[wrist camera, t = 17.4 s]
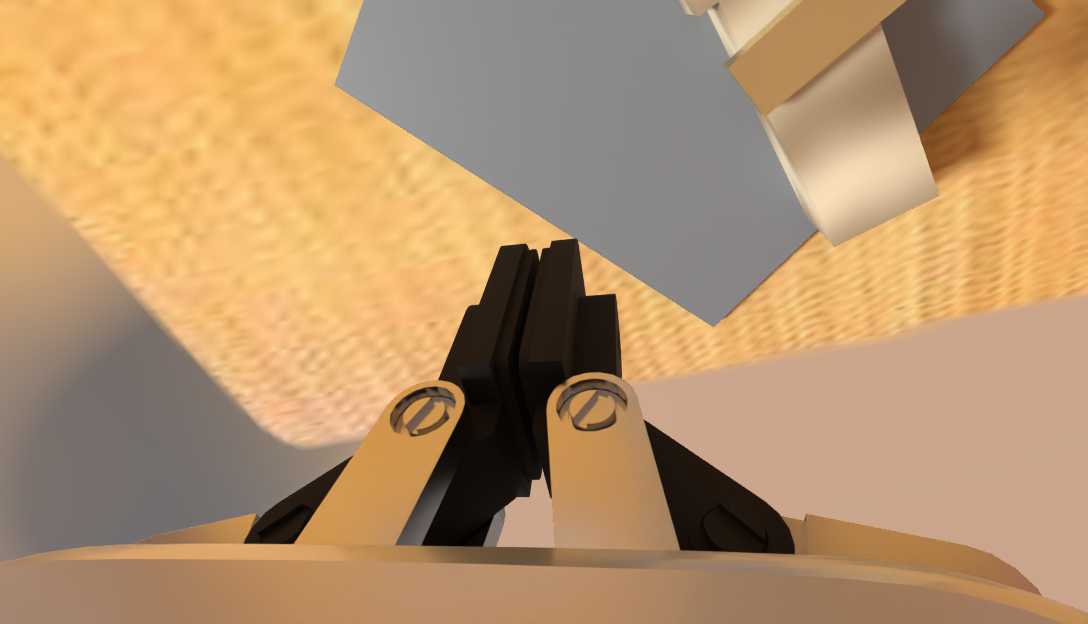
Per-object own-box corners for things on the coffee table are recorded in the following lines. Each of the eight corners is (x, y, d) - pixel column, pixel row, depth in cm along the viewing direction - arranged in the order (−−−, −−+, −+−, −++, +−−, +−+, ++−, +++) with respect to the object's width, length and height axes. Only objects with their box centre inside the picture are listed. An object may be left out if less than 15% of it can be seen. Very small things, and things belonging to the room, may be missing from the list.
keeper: (704, 54, 22) (728, 68, 18) (846, -81, 19) (915, -102, 15) (735, 94, 23) (765, 117, 19) (876, -29, 20) (949, -36, 16)
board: (540, -483, 15) (537, -505, 15) (1032, 14, 21) (1046, 14, 20) (341, 82, 25) (334, 85, 25) (711, 320, 31) (713, 327, 30)
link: (612, -131, 19) (614, -155, 16) (761, -272, 17) (796, -330, 14) (792, 225, 26) (816, 255, 23) (915, 161, 24) (960, 185, 21)
